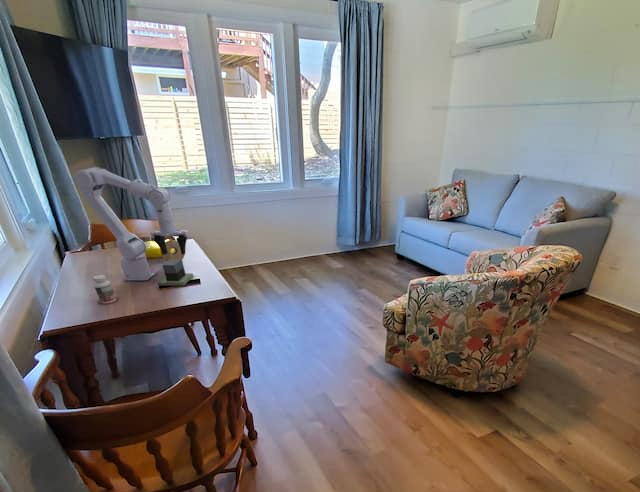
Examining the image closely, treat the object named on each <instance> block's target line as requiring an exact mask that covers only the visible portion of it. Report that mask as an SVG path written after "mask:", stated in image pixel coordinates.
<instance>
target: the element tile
mask: <svg viewBox="0 0 640 492" xmlns="http://www.w3.org/2000/svg"><path fill="white" fill-rule="evenodd" d="M167 240H168V239H165V241H167ZM143 242H144V243H145V245H146V250H145V256H146V260H147V259H159V258H160V259H161V258H163V257H162V255H161V250H160V247H159V246H158V245H157V243H156V242H155V241H154V240H150V241H143ZM170 252H171V253H175V249H174V248H171V249H170Z"/></svg>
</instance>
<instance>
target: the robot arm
mask: <svg viewBox="0 0 640 492" xmlns="http://www.w3.org/2000/svg"><path fill="white" fill-rule="evenodd" d="M74 182H75V184H76V185H77V187H78V188H79V190H80V192H81V195H82V197H83V199H84V201H85V202H86V203H87V204H88V205H89V207H90V208H91V209H92V210H93V211H94V213H95V214H96V215H97V216H98V218H99V219H100V220H101V222H102V223H103V224H104V225H105V226H106V228H107V229H108V230H109V231H110V232H111V234H112V235H113V236H114V237H115V239H116V245H115V246H116V247H117V248H118V251H119V253H120V255H121V256H122V257H123V258H121V262H120V264H121V268H122V271H123V274H124V278H125V279H124V281H148V280H149V279H151V278H152V277H153V276H154V275H156V272H151V271H150V270H151V269H150V266H149V264H148V260H147V259H146V256H145V250H146V245H145V243H144V242H145V241H143V240H142V239H140V238H139V237H138V236H137V235H136V234H135V233H132V232H130V231H129V230H128V228H127V227H126V226H125V225H124V224H123V222H122V221H121V220H120V219H119V217H118V216H117V215H116V213H115V212H114V211H113V209H112V208H111V207H110V206H109V204H108V203H107V202H106V200H105V199H104V198H103V197H102V190H103V188H104V186H105V184H106V185H107V184H109V185H112V186H115V187H118V188H121V189H124V190H128V191H129V192H130V194H131V195H133V196H135V197H138V198H140V199H144V200H146V201H149V203H150V204H152V206H153V210H154V212H155V216H156V219H157V223H158V226H159V230H152V231H150V233H149V234H150V237H151V238H153V240H152V241H155V242H156V243H157V245H158V246H159V247H160V249H161V250H162V252H163V254H164V255H166V254H167V253H168V252H167V248H166V244H165V240H166V237H176V239H175V240H176V241H177V242H178V244H179V246H180V250H181V253H182V255H183V254H185V255H186V244H187V240H188V236H189V232H188V230H180V229H177V228H176V223H175V221H174V217H173V212H172V209H171V205H170V199H171V194H170V192H169V190H168V189H167V188H165V187H163V186H157V187H156V185H155V184H149V183H146V182H143V180H142V179H140V178H138V179H134V180H132V181H131V180H129V179H128V178H124V177H122V176H120V175H117V174H115V173H113V172H111V171H108V169H106V168H101V167H99V166H92V167H89V168H85V169H79V170H77V171H76V173H75V177H74Z"/></svg>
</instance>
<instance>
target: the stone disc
mask: <svg viewBox="0 0 640 492" xmlns="http://www.w3.org/2000/svg"><path fill="white" fill-rule="evenodd" d="M166 240H167V241H165V244H166V248H167V252H168V253H167V254H166V255H164V254H163V252H162V250H161V249H160V250H161V255H162V258H163V260H165V261H166V262H167V261H169V260H170V259H182V260H184V258H185V255H186V253H185V254H183V255H182V253H181V250H180V246H179V244H178V242H177V240H176V239H166ZM171 248H174V249H175V251H174V253H171V252H170V249H171Z"/></svg>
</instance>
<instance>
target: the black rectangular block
mask: <svg viewBox="0 0 640 492" xmlns="http://www.w3.org/2000/svg"><path fill="white" fill-rule="evenodd" d="M185 273H186V270H185V267H183V268H182V269H181V270H180V271H178V272H177V273H164V276H165V277H166V280H167V281H179V280H180V279H181V278H183V277H184V276H185V275H186V274H185Z"/></svg>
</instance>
